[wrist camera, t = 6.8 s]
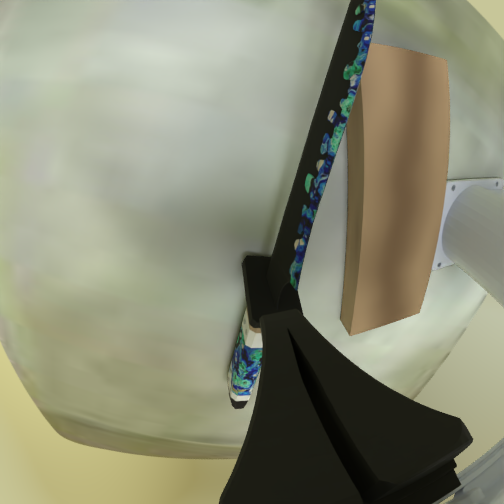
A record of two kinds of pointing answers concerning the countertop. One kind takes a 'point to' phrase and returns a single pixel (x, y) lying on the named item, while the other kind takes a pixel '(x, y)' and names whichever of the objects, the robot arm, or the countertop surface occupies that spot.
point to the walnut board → (394, 185)
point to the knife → (301, 201)
